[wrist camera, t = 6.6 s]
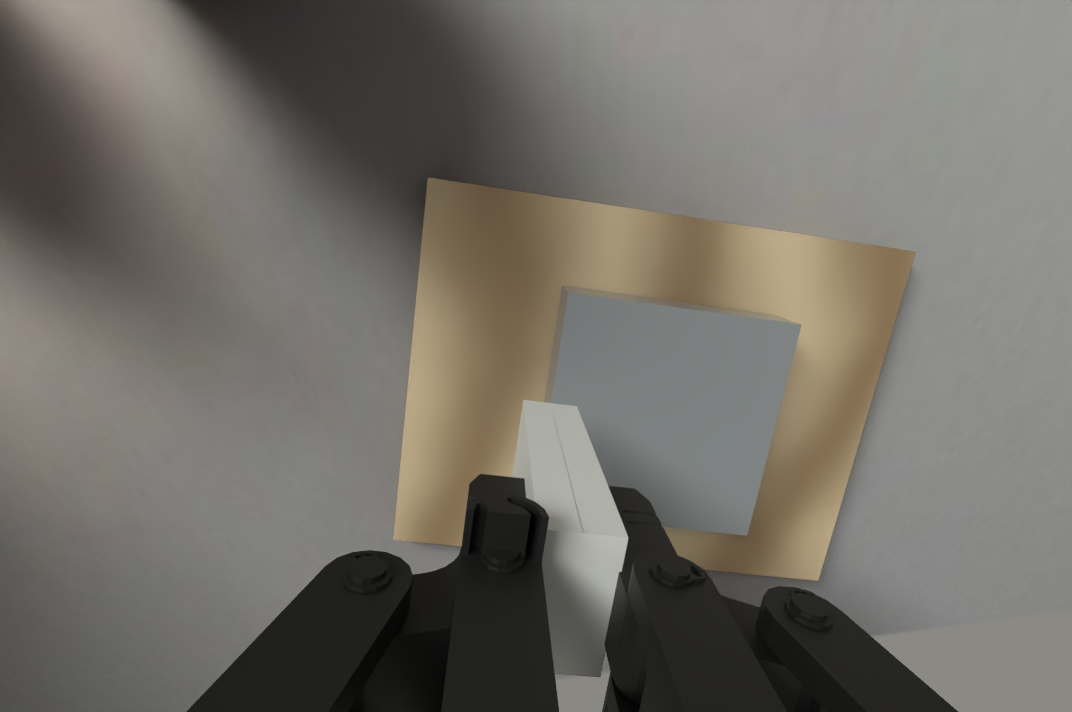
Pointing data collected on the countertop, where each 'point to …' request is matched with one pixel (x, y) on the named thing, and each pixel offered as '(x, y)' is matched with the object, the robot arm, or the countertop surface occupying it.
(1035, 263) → the countertop surface
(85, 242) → the countertop surface
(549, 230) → the thin tan sheet
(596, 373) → the tile
